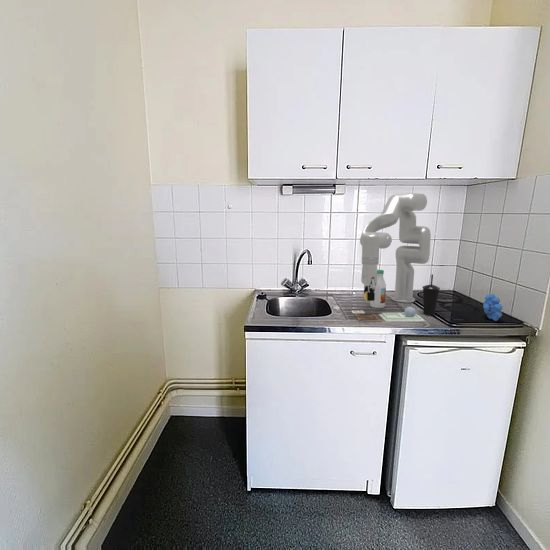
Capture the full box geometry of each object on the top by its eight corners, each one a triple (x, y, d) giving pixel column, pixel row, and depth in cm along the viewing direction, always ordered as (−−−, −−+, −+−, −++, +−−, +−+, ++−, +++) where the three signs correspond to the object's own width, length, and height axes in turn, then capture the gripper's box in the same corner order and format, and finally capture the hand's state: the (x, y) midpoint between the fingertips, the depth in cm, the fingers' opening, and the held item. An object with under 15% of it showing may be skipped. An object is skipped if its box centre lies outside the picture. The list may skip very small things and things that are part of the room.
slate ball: (402, 315, 147) (402, 305, 146) (412, 315, 147) (413, 305, 146) (406, 318, 142) (407, 308, 141) (417, 318, 142) (418, 308, 141)
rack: (378, 314, 150) (378, 312, 150) (415, 314, 149) (415, 311, 149) (385, 321, 140) (385, 318, 140) (425, 321, 140) (425, 318, 139)
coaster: (354, 315, 150) (354, 313, 150) (374, 315, 150) (374, 313, 150) (359, 321, 140) (359, 319, 140) (381, 321, 140) (381, 319, 140)
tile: (351, 311, 156) (351, 310, 156) (362, 311, 156) (362, 310, 156) (353, 313, 153) (353, 312, 152) (365, 313, 152) (365, 312, 152)
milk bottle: (375, 309, 160) (377, 271, 156) (367, 305, 167) (368, 269, 164) (387, 307, 162) (390, 270, 158) (379, 304, 169) (381, 268, 166)
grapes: (474, 315, 148) (476, 291, 146) (488, 315, 148) (491, 291, 145) (489, 323, 136) (492, 297, 134) (505, 323, 136) (508, 297, 134)
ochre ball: (362, 299, 147) (362, 289, 146) (372, 299, 147) (373, 289, 146) (365, 302, 142) (365, 292, 141) (375, 302, 142) (376, 292, 141)
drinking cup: (416, 312, 153) (419, 273, 149) (428, 311, 155) (431, 272, 152) (429, 317, 146) (432, 276, 142) (441, 315, 148) (445, 275, 145)
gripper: (357, 258, 149) (356, 294, 152) (367, 264, 132) (366, 304, 136) (372, 257, 149) (371, 293, 152) (384, 263, 132) (382, 303, 136)
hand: (369, 298), depth 144 cm, fingers closed on ochre ball, 4 cm apart
